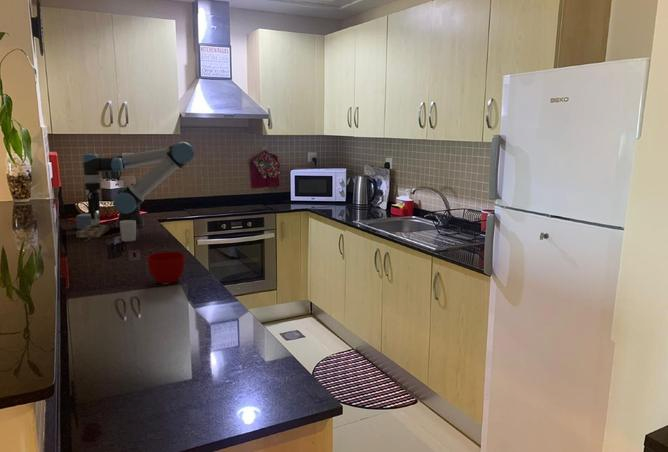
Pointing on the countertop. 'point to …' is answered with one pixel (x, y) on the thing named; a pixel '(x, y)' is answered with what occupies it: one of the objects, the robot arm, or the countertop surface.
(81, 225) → the slate blue cube
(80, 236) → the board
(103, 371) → the countertop surface
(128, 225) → the white cup
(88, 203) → the robot arm
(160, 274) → the ceramic cup
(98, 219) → the peg
